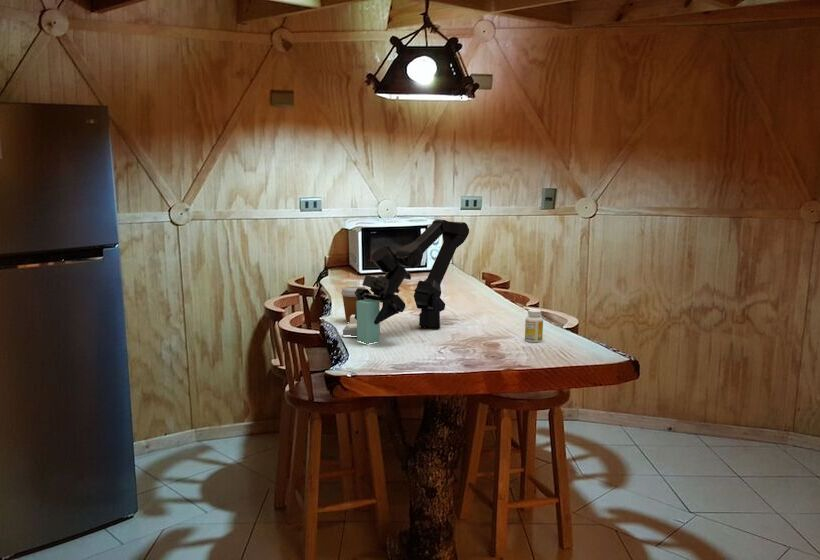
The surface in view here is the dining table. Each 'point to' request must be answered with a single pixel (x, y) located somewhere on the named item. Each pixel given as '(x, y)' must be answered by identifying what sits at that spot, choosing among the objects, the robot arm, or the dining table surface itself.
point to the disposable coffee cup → (350, 301)
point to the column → (368, 321)
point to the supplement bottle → (534, 326)
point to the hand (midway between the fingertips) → (365, 321)
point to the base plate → (351, 327)
